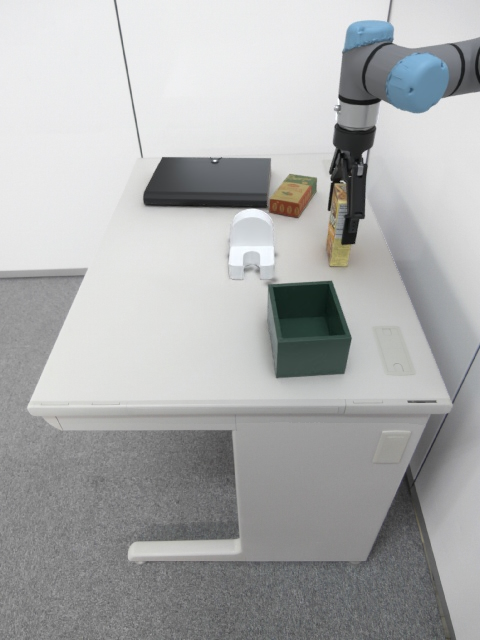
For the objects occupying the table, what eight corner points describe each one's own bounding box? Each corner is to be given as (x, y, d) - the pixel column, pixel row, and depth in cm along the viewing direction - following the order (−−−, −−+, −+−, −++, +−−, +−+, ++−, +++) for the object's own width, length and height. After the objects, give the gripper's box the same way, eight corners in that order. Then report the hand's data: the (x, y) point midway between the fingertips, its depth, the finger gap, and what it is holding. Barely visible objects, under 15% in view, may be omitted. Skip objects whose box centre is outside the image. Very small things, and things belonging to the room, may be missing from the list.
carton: (268, 213, 114) (268, 197, 111) (288, 186, 125) (289, 172, 122) (299, 218, 112) (299, 203, 109) (316, 191, 122) (318, 176, 119)
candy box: (325, 244, 103) (332, 182, 92) (343, 244, 102) (353, 182, 92) (329, 267, 96) (337, 203, 86) (348, 267, 96) (359, 203, 86)
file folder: (271, 156, 130) (267, 196, 113) (270, 169, 133) (266, 210, 116) (162, 155, 133) (141, 194, 116) (164, 168, 136) (144, 208, 119)
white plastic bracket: (272, 233, 107) (273, 192, 99) (274, 279, 94) (275, 235, 86) (233, 234, 107) (231, 193, 100) (229, 279, 94) (226, 236, 87)
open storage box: (344, 373, 74) (352, 337, 68) (276, 378, 74) (277, 342, 68) (327, 315, 85) (332, 280, 79) (267, 319, 85) (267, 284, 79)
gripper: (321, 102, 89) (312, 198, 103) (351, 152, 71) (335, 260, 85) (358, 100, 89) (344, 197, 103) (398, 150, 71) (374, 258, 85)
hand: (340, 226), depth 94 cm, fingers open, 13 cm apart
